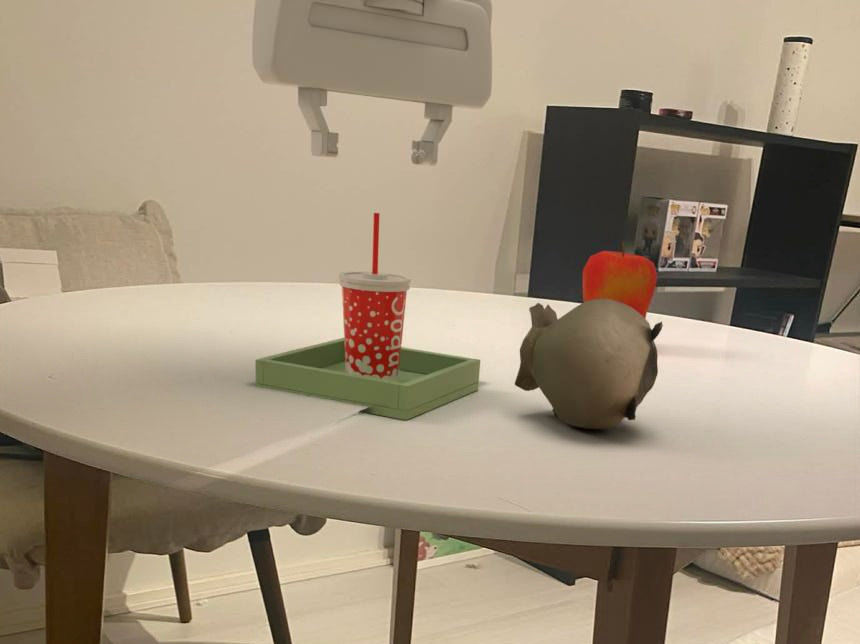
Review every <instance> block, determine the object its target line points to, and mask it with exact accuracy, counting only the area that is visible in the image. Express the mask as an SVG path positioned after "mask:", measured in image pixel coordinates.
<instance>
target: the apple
mask: <svg viewBox="0 0 860 644" xmlns="http://www.w3.org/2000/svg"><path fill="white" fill-rule="evenodd" d="M621 248H622V249H621V250H622V251H621V252H620V251H611V250H602V251H600V252H597V253H595V254H592V255H590V256H589V258H588V260H587V261H586V263H585V265H584V267H583V269H582V297H583V302H585V301H589V300H595V299H603V298H604V299H611V300H615V301H618V302H621V303H623V304H626V305H628V306H630V307H631V308H633V309H635V310H636V311H637V312H638V313H640V314H641V315H642V316H643V317H644V318H645V319H646V318H647V314H648V310H649V307H650V305H651V301H652V300H653V297H654V293H655V289H656V285H657V281H658V274H657V270H656V266H655V263H654V262H653V261H651V260H650V259H649V258H647V257H645V256H642V255H637V254H632V253H628V252H625V251H626V250H625V242H624V241H622V243H621ZM646 320H647V319H646Z"/></svg>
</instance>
